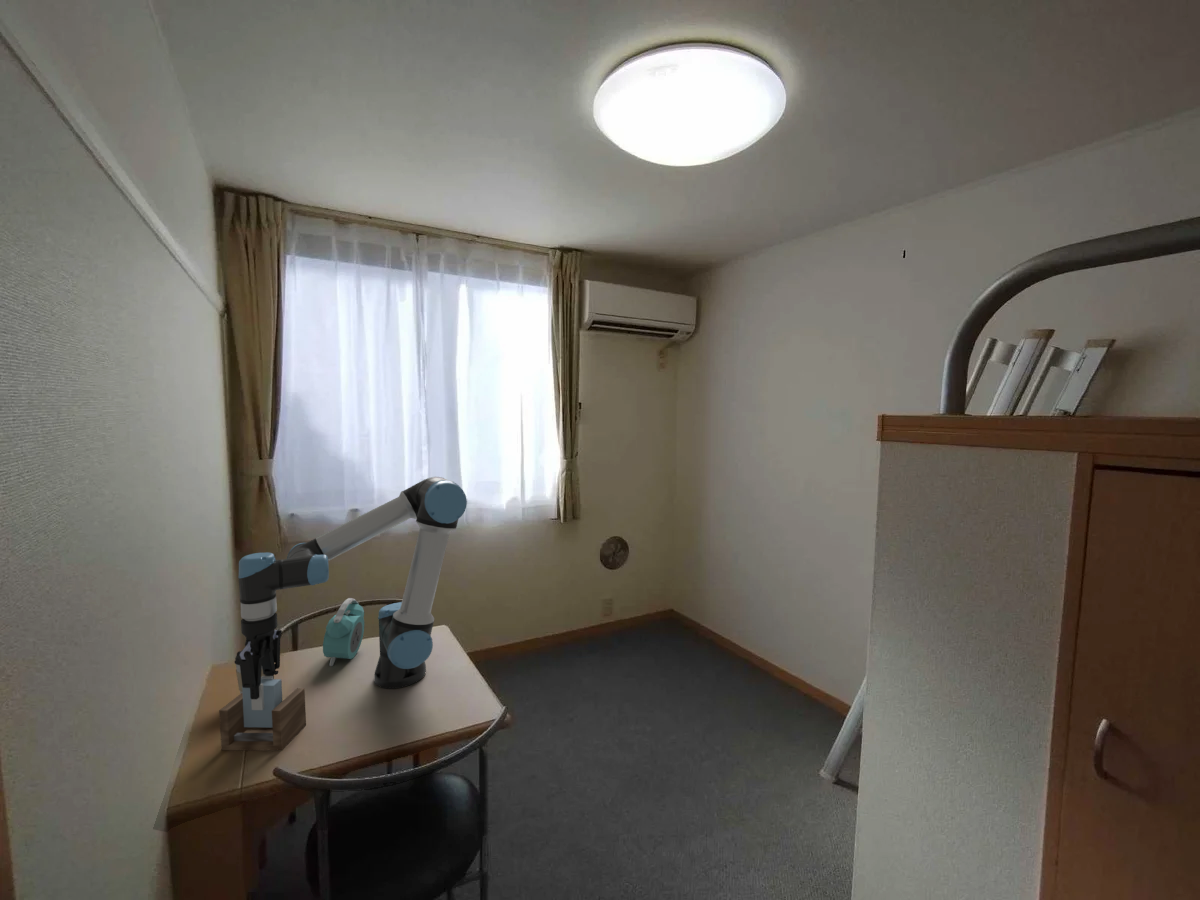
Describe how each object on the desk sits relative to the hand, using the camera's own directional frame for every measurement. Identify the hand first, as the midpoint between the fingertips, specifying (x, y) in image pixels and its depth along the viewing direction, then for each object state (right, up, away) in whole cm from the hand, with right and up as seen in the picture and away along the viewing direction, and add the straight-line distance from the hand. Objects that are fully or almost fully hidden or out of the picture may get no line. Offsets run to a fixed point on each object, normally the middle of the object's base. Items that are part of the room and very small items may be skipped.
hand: (263, 704), depth 126 cm
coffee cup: (-14, -8, +18) cm, 24 cm away
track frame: (0, -9, +1) cm, 9 cm away
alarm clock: (-1, -6, +43) cm, 43 cm away
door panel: (0, -5, 0) cm, 5 cm away
